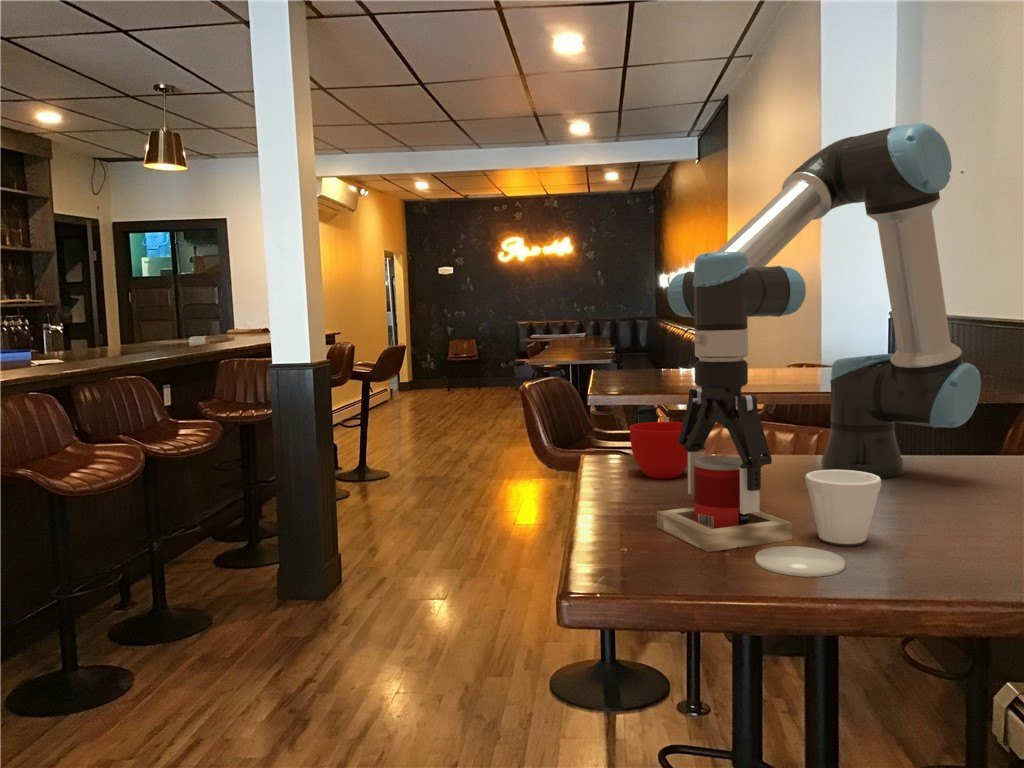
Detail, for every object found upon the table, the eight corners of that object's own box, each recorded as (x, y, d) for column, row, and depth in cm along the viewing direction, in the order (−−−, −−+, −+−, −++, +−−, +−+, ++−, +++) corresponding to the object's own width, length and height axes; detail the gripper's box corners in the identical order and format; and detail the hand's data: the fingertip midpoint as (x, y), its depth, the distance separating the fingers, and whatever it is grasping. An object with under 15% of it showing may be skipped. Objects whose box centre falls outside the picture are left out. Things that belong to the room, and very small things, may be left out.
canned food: (752, 541, 116) (752, 466, 115) (695, 540, 117) (694, 465, 116) (747, 527, 123) (747, 456, 122) (694, 526, 125) (693, 455, 124)
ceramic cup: (711, 468, 168) (710, 421, 167) (681, 484, 154) (681, 432, 153) (652, 463, 175) (652, 418, 174) (619, 478, 161) (618, 429, 160)
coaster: (805, 546, 112) (805, 542, 112) (864, 569, 102) (864, 564, 102) (738, 556, 109) (738, 552, 109) (792, 581, 98) (792, 576, 98)
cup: (874, 554, 108) (875, 486, 107) (797, 545, 113) (797, 480, 112) (885, 535, 116) (886, 472, 116) (812, 527, 122) (813, 467, 121)
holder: (734, 517, 129) (734, 501, 129) (792, 539, 116) (792, 522, 116) (656, 527, 124) (656, 511, 124) (707, 552, 111) (707, 534, 111)
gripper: (655, 356, 128) (657, 488, 130) (751, 364, 105) (751, 525, 107) (696, 354, 131) (697, 483, 133) (799, 362, 107) (798, 518, 109)
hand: (721, 502), depth 120 cm, fingers open, 13 cm apart
